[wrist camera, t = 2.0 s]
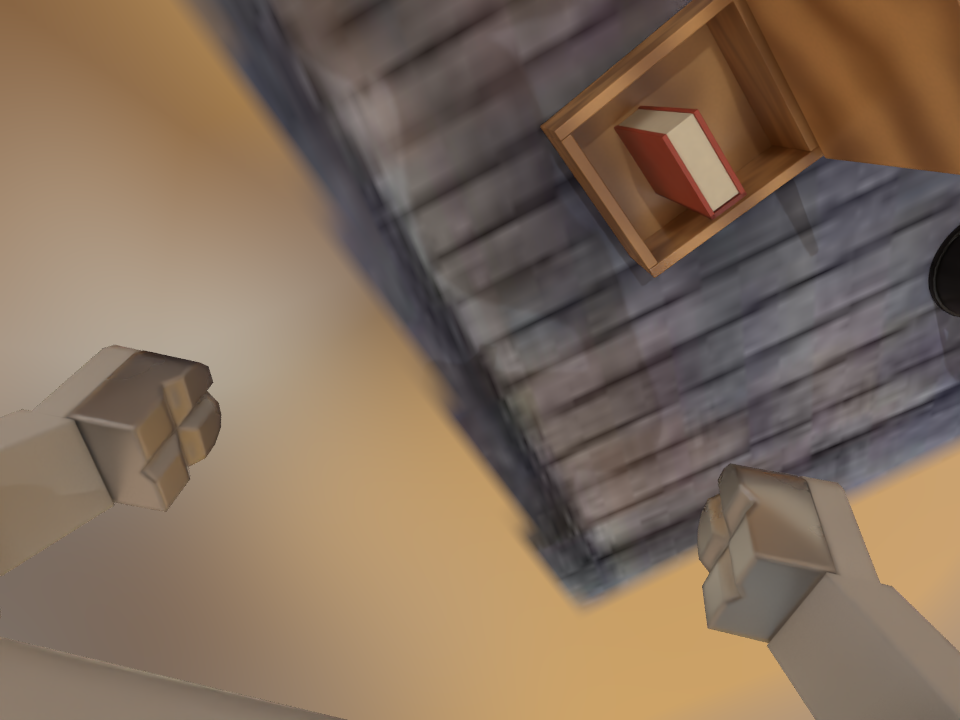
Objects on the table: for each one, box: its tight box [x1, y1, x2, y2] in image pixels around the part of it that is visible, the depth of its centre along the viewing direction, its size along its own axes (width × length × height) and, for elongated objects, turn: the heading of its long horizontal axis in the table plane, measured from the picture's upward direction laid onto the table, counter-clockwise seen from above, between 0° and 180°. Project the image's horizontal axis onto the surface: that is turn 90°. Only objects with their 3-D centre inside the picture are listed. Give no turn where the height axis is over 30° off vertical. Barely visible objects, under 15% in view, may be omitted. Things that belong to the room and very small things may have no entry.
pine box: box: [540, 0, 824, 278], centre depth 42 cm, size 14×13×6 cm
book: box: [614, 106, 747, 220], centre depth 40 cm, size 2×6×10 cm, turn 38°
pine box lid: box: [746, 0, 960, 175], centre depth 31 cm, size 14×13×1 cm
